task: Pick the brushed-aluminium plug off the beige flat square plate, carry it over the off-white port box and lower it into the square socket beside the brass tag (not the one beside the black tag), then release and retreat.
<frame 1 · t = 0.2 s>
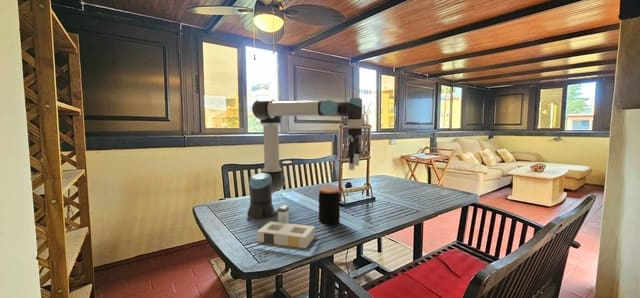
hand: (354, 167, 147), 28 cm above the table, fingers open, 13 cm apart
plug: (283, 226, 133), point 1 cm above the table, touching beige flat square plate
port box: (286, 242, 120), on the table
coffee jar: (329, 223, 142), on the table
beige flat square plate: (283, 229, 134), on the table
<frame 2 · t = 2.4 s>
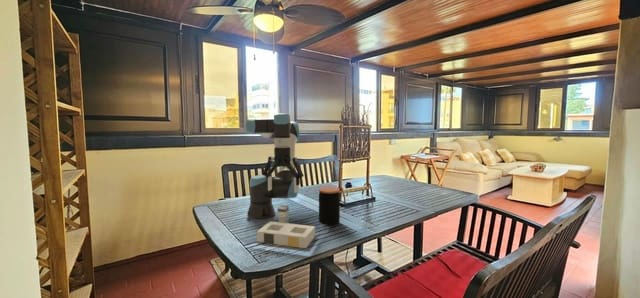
hand: (282, 191, 131), 19 cm above the table, fingers open, 13 cm apart
nothing on the table moved.
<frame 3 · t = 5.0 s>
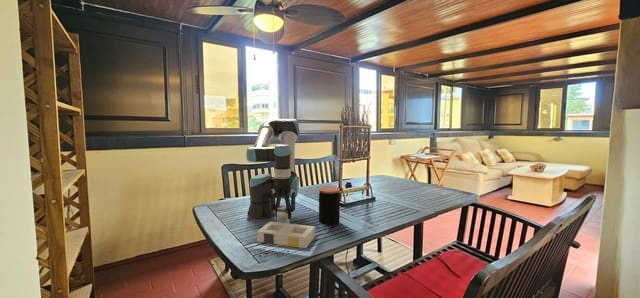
hand: (283, 224, 133), 3 cm above the table, fingers closed on plug, 4 cm apart
plug: (283, 226, 133), point 2 cm above the table, touching beige flat square plate, gripper
everything else where it was.
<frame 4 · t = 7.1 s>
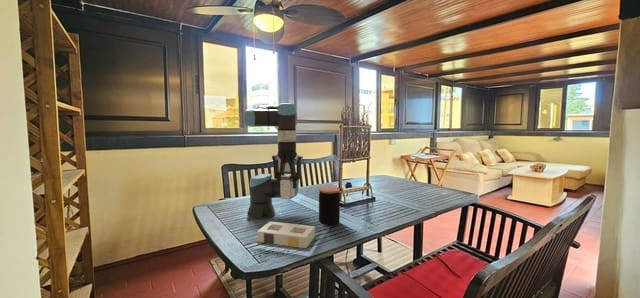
hand: (287, 195, 118), 21 cm above the table, fingers closed on plug, 4 cm apart
plug: (287, 197, 118), point 20 cm above the table, touching gripper
everything else where it was.
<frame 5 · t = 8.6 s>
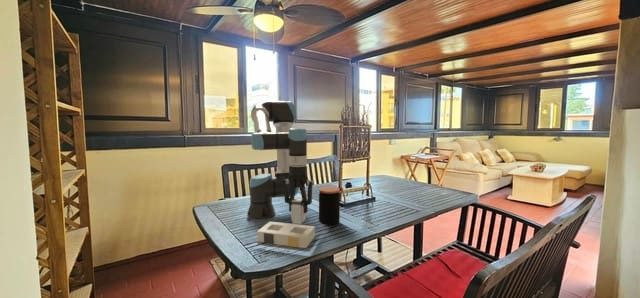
hand: (298, 219, 117), 11 cm above the table, fingers closed on plug, 4 cm apart
plug: (298, 221, 117), point 10 cm above the table, touching gripper
everything else where it was.
when the fingers open (7 cm above the table, at t = 9.6 s): plug drops 5 cm, resting on port box.
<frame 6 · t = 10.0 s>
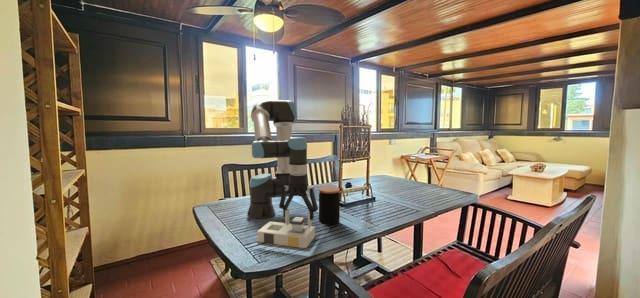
hand: (298, 225, 118), 8 cm above the table, fingers open, 9 cm apart
plug: (298, 241, 118), point 1 cm above the table, touching port box
everything else where it was.
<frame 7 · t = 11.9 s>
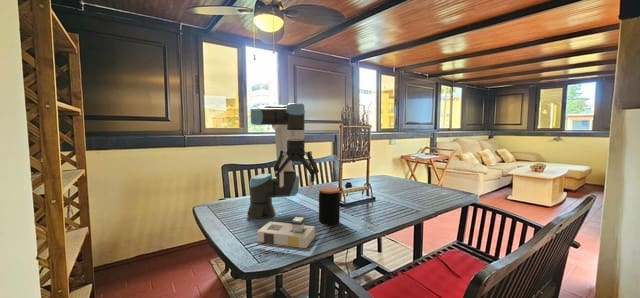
hand: (295, 187, 121), 23 cm above the table, fingers open, 13 cm apart
nothing on the table moved.
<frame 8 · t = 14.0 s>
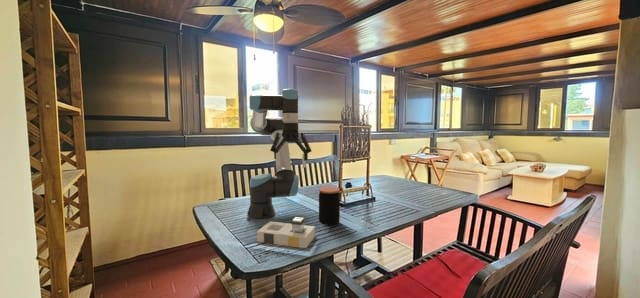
hand: (290, 166, 132), 31 cm above the table, fingers open, 13 cm apart
nothing on the table moved.
at the end: plug 0.1 cm from the target spot on the port box, point 1.0 cm above the port box's base; plug tilted 0°; the gripper is holding nothing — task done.
